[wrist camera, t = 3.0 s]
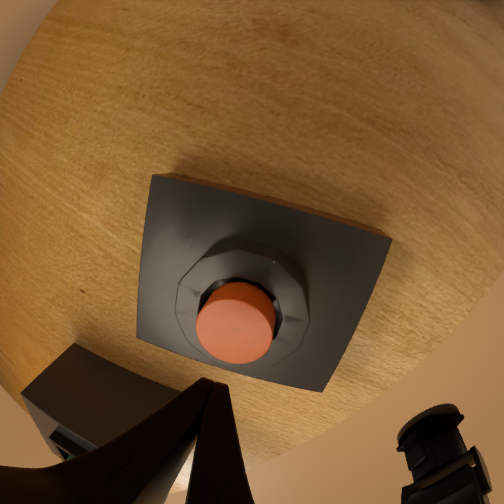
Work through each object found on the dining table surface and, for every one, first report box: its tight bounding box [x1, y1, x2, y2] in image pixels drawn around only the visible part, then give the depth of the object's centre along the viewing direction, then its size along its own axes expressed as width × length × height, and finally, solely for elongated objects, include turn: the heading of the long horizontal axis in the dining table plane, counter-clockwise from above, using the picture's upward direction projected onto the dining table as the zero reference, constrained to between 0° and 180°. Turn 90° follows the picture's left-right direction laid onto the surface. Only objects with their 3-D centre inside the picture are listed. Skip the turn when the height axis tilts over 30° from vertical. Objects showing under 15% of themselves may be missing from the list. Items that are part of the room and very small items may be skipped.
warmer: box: [20, 343, 181, 504], centre depth 17 cm, size 12×10×9 cm
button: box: [196, 282, 276, 364], centre depth 12 cm, size 3×3×2 cm
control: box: [136, 173, 392, 393], centre depth 14 cm, size 12×10×4 cm
